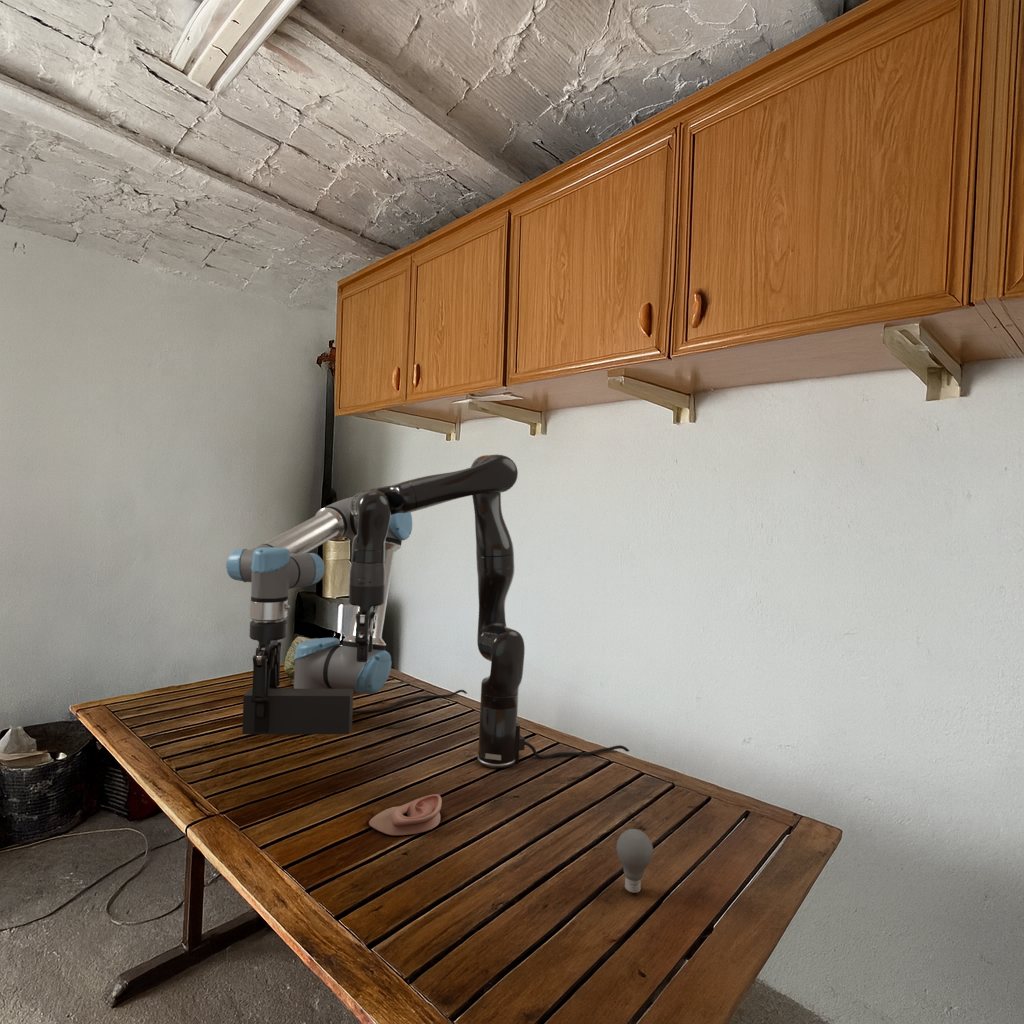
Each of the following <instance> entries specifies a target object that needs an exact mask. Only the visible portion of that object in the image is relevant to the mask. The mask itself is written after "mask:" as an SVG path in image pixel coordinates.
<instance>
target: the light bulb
mask: <svg viewBox="0 0 1024 1024" xmlns="http://www.w3.org/2000/svg"><path fill="white" fill-rule="evenodd" d="M615 849H616V854H617V857H618V859H619V861H620V863H621V865H622V867H623V873H624V874H623V875H624V876H625V878H624V888H625V890H627V891H628V892H630V893H634V894H635V893H639V892H640V891H641V889H642V887H641V886H642V879H643V877H644V875H645V871H646V868H647V867H648V866H649V864H650V863H651V861H652V859H653V855H654V847H653V843H652V841H651V838H649V836H648V835H647V834H646V833H645V832H643V831H642V830H641V829H636V828H629V829H627V830H625V831H623V832H622V833H621V834H620V835H619V837H618V839H617V841H616V847H615Z"/></svg>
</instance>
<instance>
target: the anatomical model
mask: <svg viewBox="0 0 1024 1024" xmlns="http://www.w3.org/2000/svg"><path fill="white" fill-rule="evenodd" d="M442 804H443V799H442V797H441V795H440V794H437V793H435V794H433V793H432V794H429V795H425V796H421V797H418V798H416V799H413V800H411V801H409V802H406V803H404V804H402V805H398V806H392V807H390V808H386V809H384V810H382V811H380V812H379V813H377V814H376V815H374V816H373V817H371V819H370V820H369V821H368V825H369V826H370V827H371V828H372V829H374V830H376V831H378V832H380V833H382V834H385V835H389V836H405V835H406V836H408V835H415V834H421V833H424V832H428V831H430V830H433V829H434V828H436V827H437V826H439V824H440V822H441V817H442V816H441V813H440V811H441V809H442Z"/></svg>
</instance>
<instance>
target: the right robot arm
mask: <svg viewBox="0 0 1024 1024" xmlns="http://www.w3.org/2000/svg"><path fill="white" fill-rule="evenodd" d="M518 476H519V470H518V467H517V465H516V463H515V461H514V460H513V459H511V458H510V457H509V456H506V455H503V454H485V455H480V456H478V457H477V458H475V459H474V461H473V462H472V464H471V466H470V467H468V468H465V469H460V470H456V471H451V472H444V473H438V474H437V473H435V474H431V475H430V474H429V475H427V476H426V475H425V476H421V477H416V478H413V479H408V480H405V481H401V482H399V483H395V484H392V485H387V486H386V485H385V486H380V487H374V488H369V489H365V490H361V491H359V492H357V493H356V494H354V496H352V497H353V498H352V500H351V503H350V510H351V513H352V515H353V516H354V517H355V518H356V519H357V520H359V522H358V532H357V535H356V536H353V539H352V544H351V564H350V571H349V585H348V586H349V587H348V590H349V591H348V603H349V605H350V606H353V607H354V606H359V607H360V610H359V612H358V614H356V629H355V631H356V639H355V643H356V644H357V661H358V662H367V660H368V652H371V651H372V642H373V634H374V629H375V624H376V621H375V620H376V612H375V608H376V606H380V605H382V604H384V597H385V540H386V536H387V532H388V527H389V523H390V516H391V515H393V514H397V513H409V512H411V513H413V512H416V511H420V510H424V509H427V508H431V507H434V506H438V505H441V504H444V503H447V502H451V501H454V500H457V499H461V498H466V497H469V496H472V502H473V503H472V504H473V512H474V527H475V530H474V531H475V542H476V543H475V554H476V558H475V559H476V573H477V591H478V592H477V595H478V621H477V638H476V639H477V649H478V652H479V654H480V656H482V658H484V659H485V660H487V661H488V662H490V663H491V664H490V674H489V675H488V676H485V677H484V678H483V679H482V680H481V684H480V707H479V710H480V711H479V726H478V727H479V728H478V729H479V730H478V750H477V762H478V764H479V765H481V766H483V767H485V768H489V769H506V768H510V767H512V766H514V765H515V764H518V763H519V762H520V751H521V752H522V751H525V748H526V747H525V746H527V747H528V748H529V749H531V751H532V753H533V755H534V757H535V758H538V759H551V758H556V757H561V756H562V757H563V756H566V757H567V756H570V757H574V756H575V757H578V756H579V757H582V756H592V755H595V754H600V753H605V752H610V751H615V750H617V749H618V750H619V749H621V750H623V751H625V752H626V753H627V752H630V750H629V748H628V747H626V746H625V745H621V744H619V745H614V746H609V747H603V748H599V749H595V750H591V751H581V752H577V751H576V752H573V751H571V752H570V751H567V752H565V751H563V752H554V753H550V754H547V755H545V754H544V755H543V754H542V755H541V754H539V753H538V752H537V749H536V748H535V746H534V745H532V744H531V743H530V742H527V741H526V738H525V737H524V736H522V734H521V724H520V722H518V714H519V713H518V712H519V709H518V708H519V689H520V686H521V684H522V681H523V674H524V665H525V654H526V653H525V652H526V651H525V650H526V648H525V647H526V646H525V640H524V637H523V635H522V634H521V632H519V631H517V630H516V629H513V628H511V627H508V626H507V621H506V600H507V597H508V594H509V591H510V588H511V586H512V583H513V581H514V577H515V569H516V568H515V567H516V566H515V550H514V549H515V548H514V544H513V543H514V542H513V539H512V537H511V534H510V531H509V529H508V527H507V524H506V522H505V519H504V515H503V511H502V510H503V509H502V493H506V492H507V491H509V490H511V489H512V488H513V487H514V485H515V484H516V482H517V481H518ZM360 635H363V636H362V637H360Z"/></svg>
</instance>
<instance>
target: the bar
mask: <svg viewBox="0 0 1024 1024" xmlns="http://www.w3.org/2000/svg"><path fill="white" fill-rule="evenodd" d="M252 690H253V687H251V688H249V689H248V691H246V692H245V693H244V695H243V699H242V701H243V703H242V704H243V705H242V735H349V734H350V732H351V730H352V727H353V716H354V713H353V711H354V692H353V689H294V688H281V689H273V688H269V694H268V701H269V730H268V733H261V732H254V725H255V703H251V700H252Z"/></svg>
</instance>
